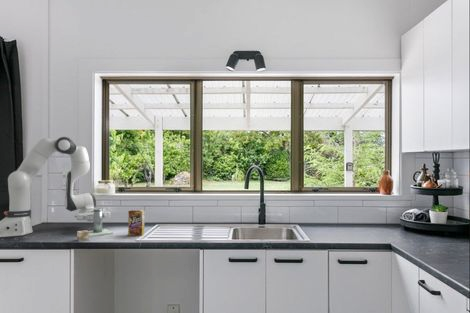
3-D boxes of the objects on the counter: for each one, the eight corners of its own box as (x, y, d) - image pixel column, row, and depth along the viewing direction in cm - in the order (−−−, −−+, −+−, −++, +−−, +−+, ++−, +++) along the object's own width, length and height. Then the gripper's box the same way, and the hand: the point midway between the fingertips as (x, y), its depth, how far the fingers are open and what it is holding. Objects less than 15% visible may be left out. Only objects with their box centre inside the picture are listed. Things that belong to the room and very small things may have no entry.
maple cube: (79, 241, 184) (79, 232, 184) (76, 239, 188) (77, 231, 188) (88, 240, 187) (88, 231, 187) (86, 238, 191) (86, 230, 191)
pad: (89, 237, 195) (89, 235, 195) (82, 233, 206) (82, 231, 206) (113, 233, 204) (113, 232, 204) (105, 230, 215) (105, 228, 215)
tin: (94, 233, 201) (94, 210, 202) (91, 231, 205) (92, 209, 206) (103, 232, 205) (103, 209, 205) (100, 230, 209) (101, 208, 209)
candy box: (127, 235, 199) (128, 210, 200) (130, 234, 203) (130, 209, 204) (141, 236, 198) (142, 210, 199) (144, 234, 203) (144, 209, 203)
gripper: (73, 211, 211) (79, 213, 200) (106, 208, 224) (113, 210, 213) (73, 220, 211) (79, 224, 200) (106, 217, 223) (113, 220, 213)
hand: (97, 217), depth 206 cm, fingers open, 8 cm apart
